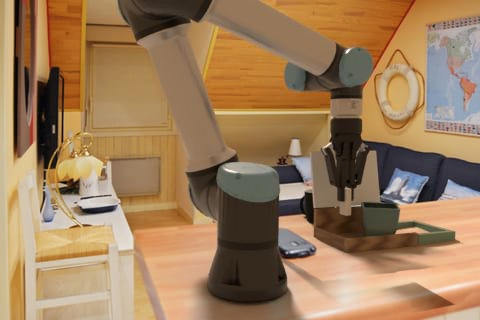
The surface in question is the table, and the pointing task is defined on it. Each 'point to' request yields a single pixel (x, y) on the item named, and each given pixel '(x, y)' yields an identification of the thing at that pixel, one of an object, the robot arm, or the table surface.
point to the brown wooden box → (335, 224)
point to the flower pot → (380, 218)
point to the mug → (308, 205)
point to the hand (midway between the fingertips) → (345, 214)
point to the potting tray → (429, 232)
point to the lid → (328, 193)
